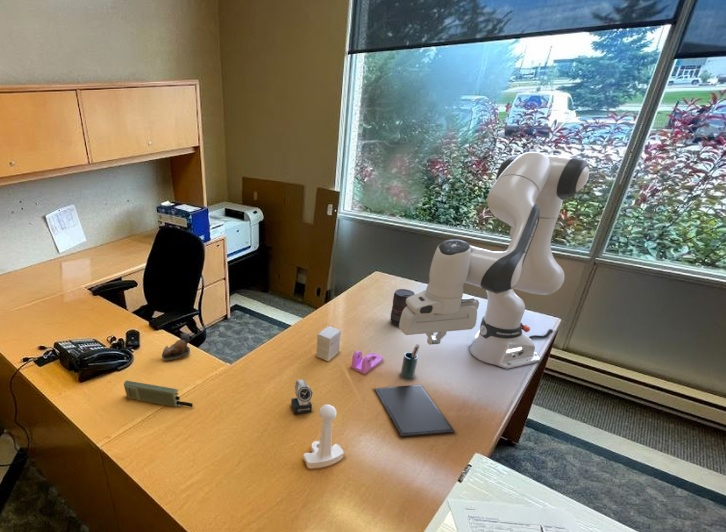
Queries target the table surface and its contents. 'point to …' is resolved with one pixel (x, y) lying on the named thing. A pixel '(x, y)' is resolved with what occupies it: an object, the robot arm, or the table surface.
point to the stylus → (415, 351)
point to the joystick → (324, 442)
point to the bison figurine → (177, 348)
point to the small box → (328, 343)
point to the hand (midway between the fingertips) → (433, 343)
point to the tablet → (413, 411)
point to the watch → (302, 398)
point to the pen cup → (408, 366)
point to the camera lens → (399, 305)
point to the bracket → (365, 361)
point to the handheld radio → (153, 394)
